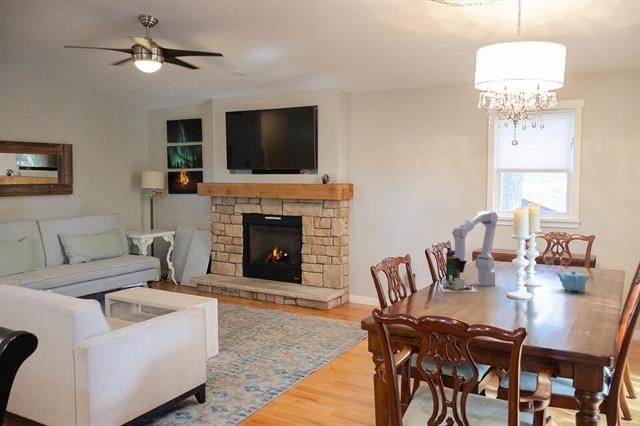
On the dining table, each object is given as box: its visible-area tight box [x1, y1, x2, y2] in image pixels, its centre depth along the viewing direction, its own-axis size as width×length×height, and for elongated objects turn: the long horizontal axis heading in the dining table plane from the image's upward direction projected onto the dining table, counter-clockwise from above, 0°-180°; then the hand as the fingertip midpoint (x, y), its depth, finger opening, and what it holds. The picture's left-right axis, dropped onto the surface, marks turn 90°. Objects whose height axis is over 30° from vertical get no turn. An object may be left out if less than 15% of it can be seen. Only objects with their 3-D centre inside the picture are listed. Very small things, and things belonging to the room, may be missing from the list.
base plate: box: [438, 284, 479, 293], centre depth 299 cm, size 19×19×1 cm
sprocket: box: [442, 276, 473, 291], centre depth 299 cm, size 16×17×6 cm
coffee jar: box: [445, 249, 461, 281], centre depth 327 cm, size 10×8×19 cm
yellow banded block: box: [454, 277, 465, 288], centre depth 292 cm, size 5×3×5 cm, turn 85°
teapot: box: [555, 270, 591, 294], centre depth 289 cm, size 16×18×11 cm
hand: (460, 271), depth 298 cm, fingers open, 7 cm apart
